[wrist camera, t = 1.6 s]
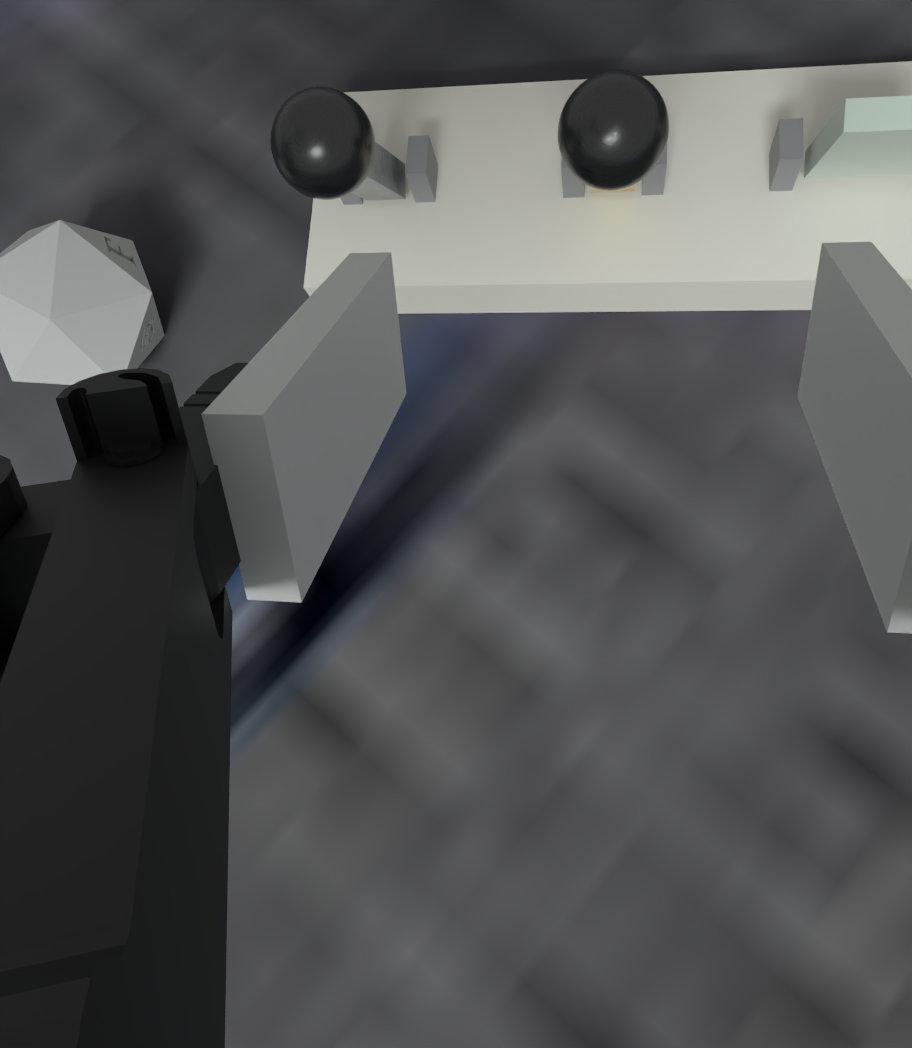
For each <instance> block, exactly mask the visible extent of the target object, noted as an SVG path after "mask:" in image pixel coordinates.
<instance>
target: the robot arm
mask: <svg viewBox="0 0 912 1048" xmlns="http://www.w3.org/2000/svg"><path fill="white" fill-rule="evenodd" d="M405 395H406V387H405V377H404V368H403V358H402V349H401V340H400V330H399V321H398V311H397V302H396V293H395V283H394V274H393V264H392V255H391V252H380V253H350V254H349V255H348V256H347V257H346V258H345V259H344V260H343V261H342V262H341V263H340V265H339V266H338V267H337V268H336V269H335V270H334V271H333V272H332V273H331V274H330V275H329V276H328V278H327V279H326V280H325V281H324V282H323V283H322V284H321V285H320V286H319V287H318V288H317V289H316V291H315V292H314V293H313V294H312V295H311V296H310V297H309V298H308V299H307V300H306V301H305V302H304V304H303V305H302V306H301V307H300V308H299V309H298V310H297V311H296V312H295V313H294V314H293V315H292V317H291V318H290V319H289V320H288V321H287V322H286V323H285V324H284V325H283V326H282V327H281V328H280V330H279V331H278V332H277V333H276V334H275V335H274V336H273V337H272V338H271V339H270V340H269V341H268V343H267V344H266V345H265V346H264V347H263V348H262V349H261V350H260V351H259V352H258V353H257V354H256V356H255V357H254V358H253V359H252V360H251V361H250V362H249V363H235V364H233V365H231V366H229V367H227V368H225V369H223V370H222V371H220V372H218V373H216V374H214V375H212V376H210V377H209V378H208V379H207V380H206V381H205V382H204V383H203V384H202V385H201V386H200V387H199V388H198V389H197V390H196V394H193V395H192V396H191V397H190V398H189V399H188V400H187V401H186V402H185V403H184V407H180V408H179V407H178V404H177V400H176V396H175V392H174V388H173V385H172V381H171V379H170V376H169V375H168V374H166V373H164V372H161V371H159V370H153V369H144V368H138V369H123V370H117V371H112V372H107V373H102V374H98V375H95V376H92V377H89V378H87V379H84V380H81V381H78V382H77V383H75V384H73V385H71V386H70V387H68V388H66V389H64V390H63V391H62V392H61V393H60V395H59V396H58V397H57V398H56V401H57V404H58V407H59V410H60V413H61V415H62V418H63V421H64V424H65V427H66V430H67V433H68V436H69V439H70V442H71V445H72V448H73V450H74V453H75V456H76V459H77V463H76V466H75V469H74V472H73V475H72V478H71V479H70V480H65V481H58V482H51V483H44V484H37V485H30V486H23V487H20V484H19V482H18V479H17V477H16V474H15V472H14V469H13V467H12V464H11V462H10V459H8V458H6V457H3V456H1V455H0V1048H225V995H226V939H227V882H228V826H229V769H230V713H231V656H232V610H231V606H230V602H229V598H228V595H227V591H226V587H225V585H226V583H227V582H228V580H229V579H230V577H231V576H232V574H233V572H234V571H235V569H236V568H237V566H238V565H239V568H240V572H241V576H242V580H243V584H244V588H245V592H246V596H247V600H264V601H284V602H302V600H303V598H304V596H305V594H306V592H307V590H308V588H309V586H310V584H311V583H312V581H313V579H314V577H315V575H316V573H317V571H318V569H319V567H320V565H321V563H322V561H323V559H324V557H325V555H326V553H327V551H328V549H329V547H330V545H331V543H332V541H333V539H334V537H335V535H336V533H337V531H338V529H339V527H340V525H341V523H342V521H343V519H344V517H345V515H346V513H347V511H348V509H349V507H350V505H351V503H352V501H353V499H354V497H355V495H356V493H357V491H358V489H359V487H360V485H361V483H362V481H363V479H364V477H365V475H366V473H367V471H368V469H369V467H370V465H371V463H372V461H373V459H374V457H375V455H376V453H377V451H378V449H379V447H380V445H381V443H382V441H383V439H384V437H385V435H386V433H387V431H388V429H389V427H390V425H391V423H392V421H393V419H394V417H395V415H396V413H397V411H398V409H399V407H400V405H401V403H402V401H403V399H404V397H405ZM798 399H799V401H800V404H801V407H802V409H803V412H804V415H805V417H806V420H807V422H808V425H809V428H810V430H811V433H812V436H813V438H814V441H815V443H816V446H817V449H818V451H819V454H820V457H821V459H822V462H823V465H824V467H825V470H826V472H827V475H828V478H829V480H830V483H831V486H832V488H833V491H834V493H835V496H836V499H837V501H838V504H839V507H840V509H841V512H842V514H843V517H844V520H845V522H846V525H847V528H848V530H849V533H850V536H851V538H852V541H853V543H854V546H855V549H856V551H857V554H858V557H859V559H860V562H861V564H862V567H863V570H864V572H865V575H866V578H867V580H868V583H869V585H870V588H871V591H872V593H873V596H874V599H875V601H876V604H877V607H878V609H879V612H880V614H881V617H882V620H883V622H884V625H885V628H886V630H887V632H893V633H912V289H911V288H910V287H909V286H908V285H907V283H906V282H905V281H904V280H903V279H902V277H901V276H900V275H899V274H898V273H897V271H896V270H895V269H894V268H893V267H892V265H891V264H890V263H889V262H888V261H887V259H886V258H885V257H884V256H883V255H882V254H881V252H880V251H879V250H878V249H877V248H876V246H875V245H874V244H873V243H872V242H836V243H822V246H821V252H820V258H819V265H818V271H817V277H816V284H815V290H814V296H813V303H812V309H811V315H810V322H809V328H808V335H807V341H806V347H805V354H804V360H803V366H802V373H801V379H800V385H799V392H798Z"/></svg>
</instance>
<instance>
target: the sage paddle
mask: <svg viewBox="0 0 912 1048" xmlns="http://www.w3.org/2000/svg"><path fill="white" fill-rule="evenodd" d="M911 175H912V95H909V96H889V97H868V98H848V99H845V100H844V102H843V103H842V104H841V106H840V107H839V108H838V109H837V111H836V112H835V113H834V115H833V116H832V117H831V119H830V120H829V121H828V122H827V124H826V125H825V126H824V128H823V129H822V130H821V132H820V133H819V134H818V135H817V137H816V138H815V139H814V141H813V142H812V143H811V145H810V146H809V147H808V148H807V150H806V151H805V165H804V179H822V178H852V177H881V176H911Z"/></svg>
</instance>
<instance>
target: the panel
mask: <svg viewBox="0 0 912 1048" xmlns="http://www.w3.org/2000/svg"><path fill="white" fill-rule="evenodd" d="M642 77H644V78H645V79H647V80H648V81H649V82H650V83H651V84H653V85H654V86H655V88H656V89H657V90H658V91H659V93H660V94H661V96H662V98H663V100H664V102H665V104H666V108H667V111H668V117H669V135H668V140H667V145H666V148H665V150H664V153H663V155H662V157H661V159H660V160H659V162H658V163H657V165H656V166H655V167H654V169H653V170H652V171H651V172H650V173H649V174H648V175H647V176H646V177H645V178H643V179H642V180H641V181H639V182H638V183H636V185H635V191H634V192H606V193H591V188H590V186H588V185H586V184H584V183H582V182H581V181H579V180H578V179H577V178H576V177H575V176H574V175H573V174H572V173H571V172H570V171H569V169H568V168H567V166H566V165H565V163H564V161H563V159H562V157H561V153H560V150H559V145H558V124H559V119H560V115H561V112H562V109H563V107H564V105H565V103H566V101H567V100H568V98H569V97H570V95H571V94H572V93H573V92H574V90H575V89H576V88H577V87H578V86H579V85H580V84H581V83H583V82H584V81H585V80H587V79H580V80H562V81H544V82H526V83H507V84H489V85H471V86H453V87H435V88H416V89H398V90H380V91H362V92H344V93H345V94H347V95H348V96H350V97H351V98H353V99H354V100H355V101H356V102H357V103H358V104H359V105H360V106H361V108H362V109H363V110H364V111H365V113H366V115H367V116H368V118H369V120H370V122H371V125H372V128H373V131H374V136H375V142H376V143H378V144H379V145H380V146H382V147H383V148H384V149H386V150H387V151H388V152H390V153H391V154H392V155H394V156H395V157H396V158H398V159H399V160H400V161H402V162H403V163H404V164H405V175H406V199H392V200H365V199H363V198H361V197H359V196H357V195H355V194H353V193H350V194H348V195H346V196H344V197H341V198H337V199H331V200H321V199H315V198H314V199H313V208H312V216H311V225H310V234H309V243H308V252H307V261H306V270H305V279H304V289H305V290H306V292H307V293H308V295H309V296H311V295H312V294H313V293H314V292H315V291H316V289H317V288H318V287H319V286H320V285H321V284H322V283H323V282H324V281H325V280H326V279H327V278H328V276H329V275H330V274H331V273H332V272H333V271H334V270H335V269H336V268H337V267H338V266H339V265H340V263H341V262H342V261H343V260H344V259H345V258H346V257H347V256H348V255H349V254H350V253H380V252H391V255H392V264H393V274H394V283H395V293H396V302H397V311H398V314H416V313H525V312H634V311H743V310H811V309H812V303H813V296H814V290H815V284H816V277H817V271H818V265H819V258H820V252H821V246H822V243H836V242H872V243H873V244H874V245H875V246H876V248H877V249H878V250H879V251H880V252H881V254H882V255H883V256H884V257H885V258H886V259H887V261H888V262H889V263H890V264H891V265H892V267H893V268H894V269H895V270H896V271H897V273H898V274H899V275H900V276H901V277H902V279H903V280H904V281H905V282H906V283H907V285H908V286H909V287H910V288H911V289H912V175H911V176H881V177H852V178H822V179H804V165H805V151H806V150H807V148H808V147H809V146H810V145H811V143H812V142H813V141H814V139H815V138H816V137H817V135H818V134H819V133H820V132H821V130H822V129H823V128H824V126H825V125H826V124H827V122H828V121H829V120H830V119H831V117H832V116H833V115H834V113H835V112H836V111H837V109H838V108H839V107H840V106H841V104H842V103H843V102H844V100H845V99H848V98H868V97H889V96H909V95H912V61H908V62H889V63H871V64H853V65H835V66H817V67H799V68H780V69H762V70H744V71H726V72H708V73H689V74H671V75H653V76H642Z"/></svg>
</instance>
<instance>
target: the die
mask: <svg viewBox="0 0 912 1048" xmlns="http://www.w3.org/2000/svg"><path fill="white" fill-rule="evenodd" d="M164 336H165V335H164V332H163V328H162V325H161V321H160V318H159V315H158V311H157V308H156V304H155V301H154V297H153V294H152V291H151V288H150V286H149V283H148V280H147V278H146V275H145V272H144V269H143V267H142V264H141V261H140V259H139V256H138V253H137V251H136V248H135V245H134V243H133V240H129V239H126V238H122V237H119V236H115V235H111V234H108V233H104V232H101V231H97V230H94V229H90V228H87V227H83V226H80V225H76V224H73V223H69V222H66V221H62V220H58V221H55V222H52V223H49V224H47V225H44V226H41V227H38V228H35V229H32V230H29V231H28V232H26V233H25V234H24V235H23V236H21V237H20V238H19V239H18V240H16V241H15V242H14V243H13V244H11V245H10V246H9V247H7V248H6V249H5V250H4V251H2V252H1V253H0V352H1V354H2V357H3V359H4V362H5V364H6V367H7V369H8V372H9V374H10V376H11V379H12V381H18V382H34V383H50V384H65V385H73V384H75V383H77V382H78V381H81V380H84V379H87V378H89V377H92V376H95V375H98V374H102V373H107V372H112V371H117V370H123V369H137V368H138V367H139V366H140V365H141V363H142V362H143V361H144V360H145V359H146V357H147V356H148V355H149V354H150V353H151V352H152V350H153V349H154V348H155V347H156V346H157V344H158V343H159V342H160V341H161V340H162V338H163V337H164Z"/></svg>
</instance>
